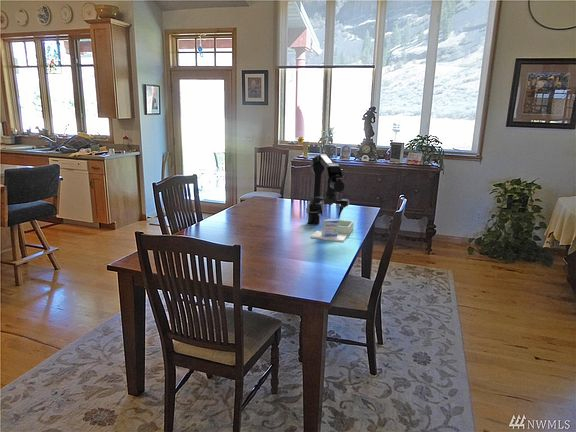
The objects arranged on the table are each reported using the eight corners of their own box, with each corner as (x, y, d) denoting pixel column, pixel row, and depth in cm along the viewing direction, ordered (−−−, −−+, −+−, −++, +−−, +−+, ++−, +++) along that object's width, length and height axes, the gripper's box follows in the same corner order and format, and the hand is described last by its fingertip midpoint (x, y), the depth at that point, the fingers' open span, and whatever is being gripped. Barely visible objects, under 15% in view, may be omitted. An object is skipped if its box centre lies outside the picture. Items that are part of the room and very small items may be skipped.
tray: (310, 237, 222) (310, 236, 221) (316, 232, 232) (316, 230, 232) (343, 242, 216) (343, 240, 216) (347, 236, 226) (347, 234, 226)
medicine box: (324, 236, 221) (324, 221, 218) (321, 234, 225) (321, 219, 223) (337, 236, 223) (338, 220, 220) (334, 233, 227) (335, 218, 225)
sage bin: (322, 232, 231) (323, 224, 230) (328, 226, 244) (329, 218, 242) (348, 236, 227) (349, 227, 225) (353, 229, 239) (353, 221, 238)
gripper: (310, 189, 213) (309, 218, 217) (346, 192, 207) (344, 222, 211) (316, 185, 223) (315, 213, 227) (350, 188, 217) (348, 217, 221)
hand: (330, 216), depth 221 cm, fingers open, 9 cm apart
